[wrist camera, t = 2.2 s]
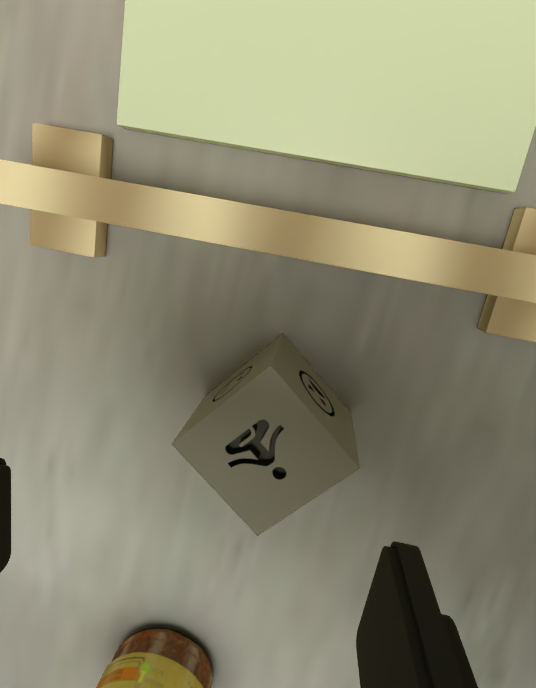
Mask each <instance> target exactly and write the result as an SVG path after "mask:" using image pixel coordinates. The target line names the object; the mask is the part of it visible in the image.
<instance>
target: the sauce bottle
mask: <svg viewBox="0 0 536 688" xmlns="http://www.w3.org/2000/svg"><path fill="white" fill-rule="evenodd" d="M212 677H213V676H212V672H211V667H210V662H209V660H208V658H207V656H206V655H205V653H204V652H203V650H202V649H201V647H200V646H198V645H197V644H195V643H194V642H192V640H190V639H188V638H186V637H184V636H182V635H181V634H179V633H176V632H174V631H171V630H168V629H158V628H157V629H148V630H144V631H141V632H138V633H136V634H134V635H132V636H131V637H130V638H127V639H126V640H125V642H124V643H123V644H122V645H121V646H120V647H119V649H118V650H117V652H116V653H115V656H114V658H113V660H112V662H111V663H110V664H109V665H108V666H107V668H106V669H105V671H104V673H103V675H102V677H101V679H100V681H99V683H98V685H97V687H96V688H211V686H212Z"/></svg>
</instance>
